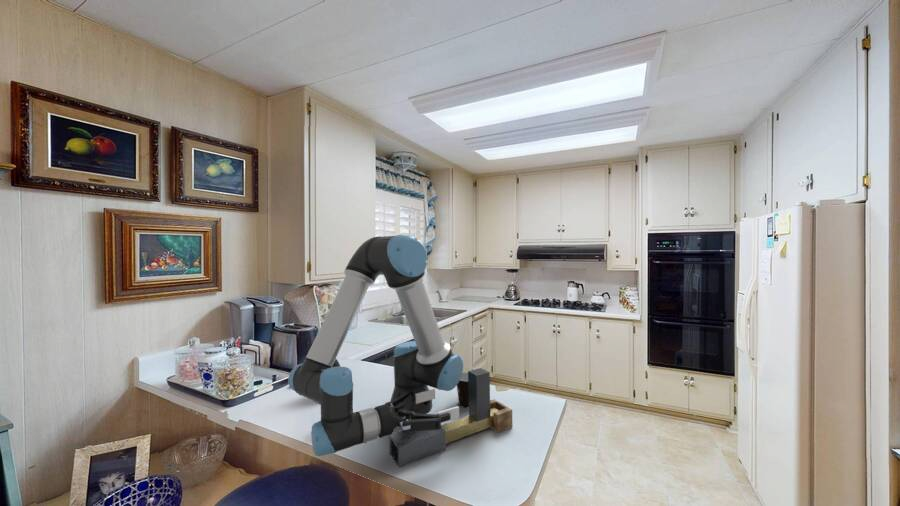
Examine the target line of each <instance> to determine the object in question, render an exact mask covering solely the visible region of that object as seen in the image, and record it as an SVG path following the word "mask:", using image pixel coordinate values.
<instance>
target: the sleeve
mask: <svg viewBox="0 0 900 506" xmlns="http://www.w3.org/2000/svg"><path fill="white" fill-rule="evenodd" d="M388 437H389V439H388V443H389V448H388V449H389V450H388V451H389V452H388V453H389V455H390V457H391V458H392V459H393V462H394V463H395V464H396V465H397V466H398V468H402V467H403V468H404V467H406V466H408V465H411V464H414V463H416V462H418V461H421V460H424V459H427V458H430V457H431V456H435V455H437V454H440V453H442V452H445V451H446V450H447V447H446V445H447V443H446V440H445V430H444V429H443V428H442V427H441V429H439V430H425V431H411V432H407V433H403V432H402V429H401V430H399V431H396V432H393V433H392V434H391V435H388Z"/></svg>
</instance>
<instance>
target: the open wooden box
mask: <svg viewBox="0 0 900 506" xmlns="http://www.w3.org/2000/svg"><path fill="white" fill-rule="evenodd" d="M492 408H496V409H498V410H499V411H496V412H494V426H492V427H489V429H491V430H493V431H494V432H496V433H497V434H498V433H500V432H503V431H506V430H509V429H511V428H513V426H514V425H513V409H512V408H510V407H508V406H506V405H505V404H504V403H502V402H500V401H498V400H496V399H495V398H494V399H490V409H492Z"/></svg>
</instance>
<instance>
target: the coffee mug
mask: <svg viewBox="0 0 900 506" xmlns="http://www.w3.org/2000/svg"><path fill="white" fill-rule="evenodd" d="M456 391H457V399H458V405H459V406H460V407H462V408H463V409H464V408H465V409H469V396H468V371H467V372H466V371H465V372H464V371H463V373H462V376H461V379H460V381H459V383H458V384H457V386H456Z"/></svg>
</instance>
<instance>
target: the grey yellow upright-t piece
mask: <svg viewBox="0 0 900 506" xmlns="http://www.w3.org/2000/svg"><path fill="white" fill-rule="evenodd" d="M467 372H468V396H469V408H468V416H465V417H462V418H459V419H456V420H453V421H449V422H446V423H445V424H441V427H442V428H443V429H444V430H445V440H446V444H448V443H451V442H453V441H456V440H459V439H461V438H465V437H467V436H470V435H473V434H475V433H478V432H480V431H483V430H487V429H490V427H492V426H494V412H496V411H499V410H498V409H496V408H492V409H490V400H491V383H490V382H491V380H490V377H491V376H490V373H491V372H490V371H488V370H486V369H484V368H482V367H480V368H475V369H471V370H468V371H467Z"/></svg>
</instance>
